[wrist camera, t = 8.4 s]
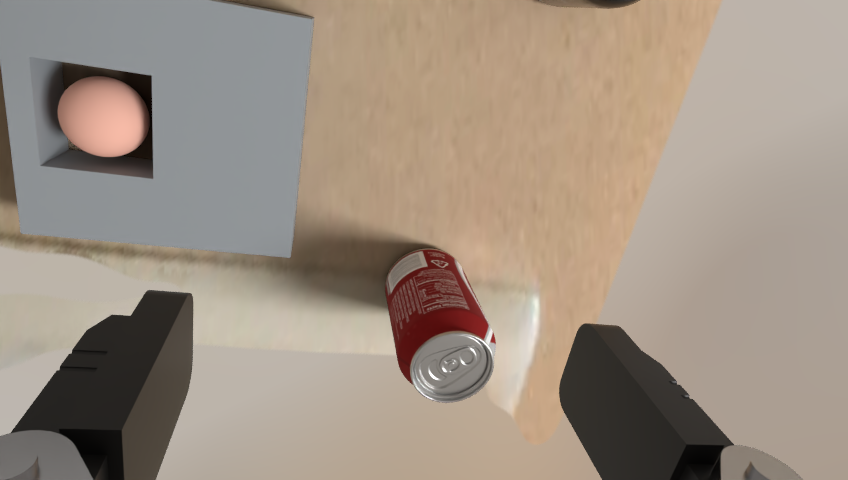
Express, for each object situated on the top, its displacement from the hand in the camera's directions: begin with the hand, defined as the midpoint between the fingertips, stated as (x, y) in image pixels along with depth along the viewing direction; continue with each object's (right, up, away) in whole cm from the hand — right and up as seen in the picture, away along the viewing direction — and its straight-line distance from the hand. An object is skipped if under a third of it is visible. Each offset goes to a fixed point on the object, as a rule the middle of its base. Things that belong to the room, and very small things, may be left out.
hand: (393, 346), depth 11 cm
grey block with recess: (-16, +11, +26) cm, 32 cm away
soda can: (+1, -1, +34) cm, 34 cm away
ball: (-20, +10, +23) cm, 32 cm away
